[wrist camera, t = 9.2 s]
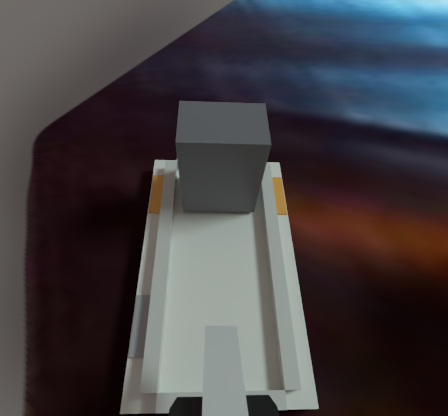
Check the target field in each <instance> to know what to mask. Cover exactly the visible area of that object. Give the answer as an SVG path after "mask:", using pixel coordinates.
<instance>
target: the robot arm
mask: <svg viewBox="0 0 448 416" xmlns="http://www.w3.org/2000/svg"><path fill="white" fill-rule="evenodd" d="M168 416H279V412H278V408H277V405H276V404H275V403H274V401H273V400H272V398H271V397H270V396H269V395H246V393H245V385H244V378H243V370H242V363H241V356H240V348H239V341H238V333H237V326H205V346H204V373H203V397H177V398H176V399H175V401H174V402H173V404H172V406H171V407H170V409H169V415H168Z"/></svg>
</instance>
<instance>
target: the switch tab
mask: <svg viewBox="0 0 448 416" xmlns="http://www.w3.org/2000/svg"><path fill="white" fill-rule="evenodd" d="M270 148H271V139H270V133H269V126H268V119H267V112H266V105H265V104H260V103H229V102H199V101H179V111H178V122H177V133H176V151H177V160H178V169H179V178H180V187H181V196H182V206H183V212H254V210H255V206H256V202H257V198H258V194H259V191H260V187H261V183H262V179H263V175H264V171H265V167H266V163H267V160H268V156H269V152H270Z"/></svg>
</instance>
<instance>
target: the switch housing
mask: <svg viewBox="0 0 448 416" xmlns="http://www.w3.org/2000/svg"><path fill="white" fill-rule="evenodd" d="M205 326H237V333H238V341H239V348H240V356H241V363H242V370H243V378H244V385H245V393H246V395H269V396H270V397H271V398H272V400H273V401H274V403H275V404H276V405H277V408H278V410H296V409H319V407H318V401H317V394H316V388H315V382H314V376H313V369H312V363H311V357H310V351H309V344H308V338H307V332H306V326H305V319H304V313H303V307H302V301H301V295H300V288H299V282H298V276H297V270H296V263H295V257H294V251H293V245H292V238H291V232H290V226H289V220H288V213H287V207H286V201H285V195H284V188H283V182H282V176H281V170H280V163H273V162H267V163H266V167H265V171H264V175H263V179H262V183H261V187H260V191H259V194H258V198H257V202H256V206H255V210H254V212H183V206H182V196H181V187H180V178H179V169H178V160H155V163H154V171H153V178H152V185H151V192H150V199H149V207H148V214H147V221H146V228H145V236H144V243H143V250H142V257H141V264H140V272H139V279H138V286H137V293H136V300H135V308H134V315H133V322H132V329H131V337H130V344H129V351H128V358H127V365H126V373H125V380H124V387H123V394H122V401H121V409H120V414H143V413H155V414H156V413H169V409H170V407H171V406H172V404H173V402H174V401H175V399H176V398H177V397H203V373H204V346H205Z"/></svg>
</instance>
